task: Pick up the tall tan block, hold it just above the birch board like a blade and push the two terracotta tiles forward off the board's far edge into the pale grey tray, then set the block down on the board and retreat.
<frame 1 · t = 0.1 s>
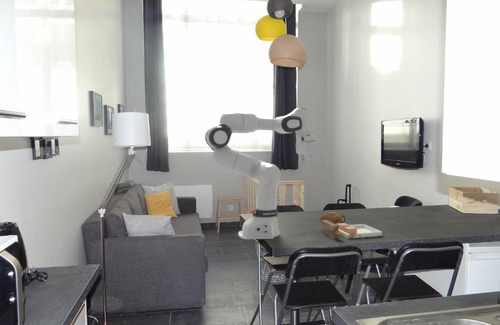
hand: (306, 162, 197), 39 cm above the table, tool pointing down, fingers open, 8 cm apart
tile b: (350, 232, 189), point 2 cm above the table, touching board
tin: (332, 226, 211), on the table
board: (346, 234, 193), on the table
tray: (362, 232, 196), on the table
tile a: (342, 228, 197), point 2 cm above the table, touching board
tall tan block: (329, 235, 191), on the table
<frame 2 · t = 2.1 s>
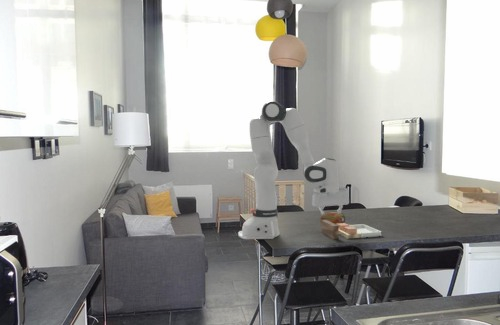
hand: (330, 214, 190), 12 cm above the table, tool pointing down, fingers open, 8 cm apart
nothing on the table moved.
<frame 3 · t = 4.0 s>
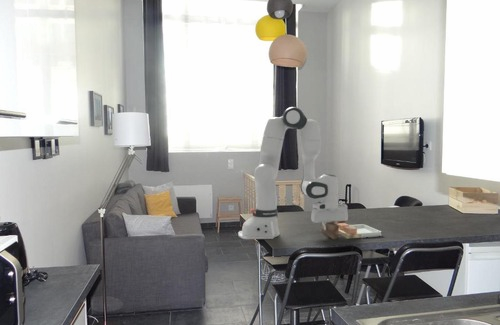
hand: (329, 229, 190), 3 cm above the table, tool pointing down, fingers closed on tall tan block, 3 cm apart
tall tan block: (329, 235, 191), on the table, touching gripper
everything else where it was.
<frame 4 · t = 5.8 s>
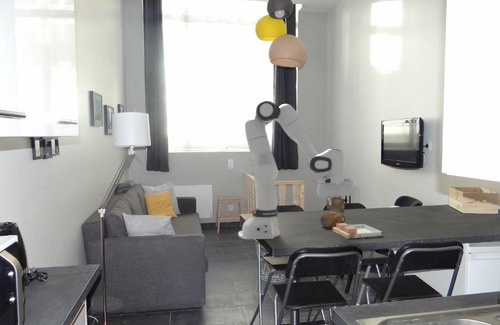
hand: (335, 204, 190), 17 cm above the table, tool pointing down, fingers closed on tall tan block, 3 cm apart
tall tan block: (335, 210, 190), point 13 cm above the table, touching gripper
everything else where it was.
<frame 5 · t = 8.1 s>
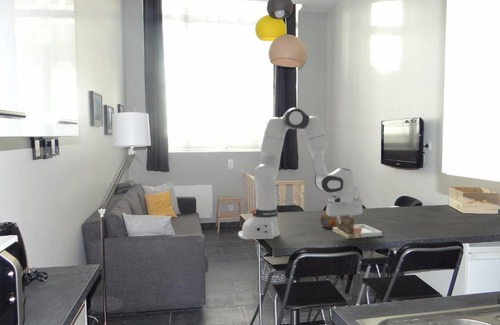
hand: (344, 223, 192), 6 cm above the table, tool pointing down, fingers closed on tall tan block, 3 cm apart
tile b: (354, 232, 190), point 2 cm above the table, touching board
tile a: (346, 228, 198), point 2 cm above the table, touching board
tall tan block: (344, 229, 192), point 3 cm above the table, touching gripper
everything else where it was.
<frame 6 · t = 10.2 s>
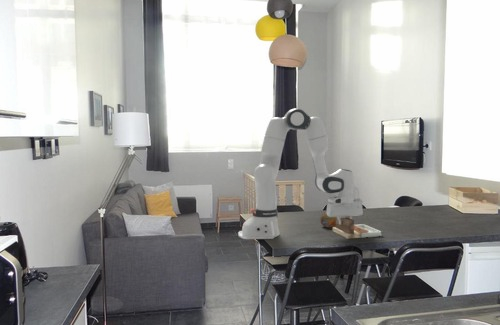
hand: (344, 224, 193), 6 cm above the table, tool pointing down, fingers closed on tall tan block, 3 cm apart
tile b: (360, 232, 190), point 1 cm above the table, tilted 17°, touching board, tray
tile a: (352, 229, 199), point 1 cm above the table, tilted 17°, touching board, tray
tall tan block: (344, 230, 193), point 2 cm above the table, touching gripper
everything else where it was.
when the fingers open (5 cm above the table, at t = 10.8 s): tall tan block stays where it is, resting on board.
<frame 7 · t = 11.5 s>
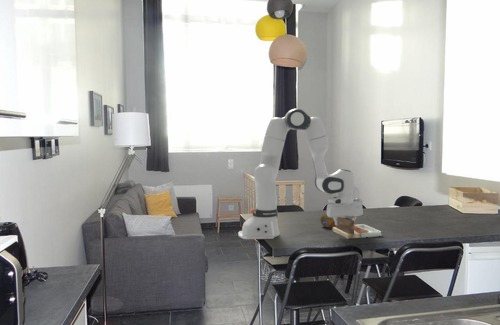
hand: (344, 224, 193), 5 cm above the table, tool pointing down, fingers open, 8 cm apart
tall tan block: (344, 230, 193), point 2 cm above the table, touching board
everything else where it was.
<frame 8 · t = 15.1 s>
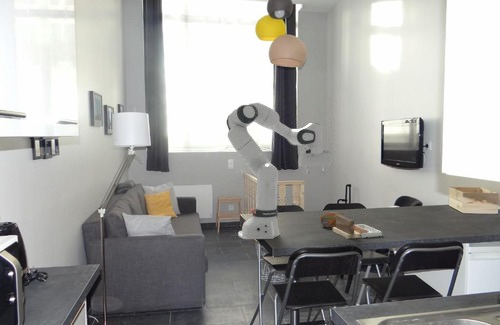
hand: (315, 173, 211), 31 cm above the table, tool pointing down, fingers open, 8 cm apart
nothing on the table moved.
at the end: tile a inside the target area (5.9 cm from its centre), point 1.3 cm above the table; tile b inside the target area (6.2 cm from its centre), point 1.3 cm above the table; the gripper is holding nothing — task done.
